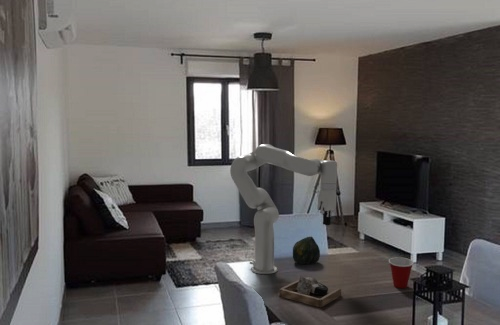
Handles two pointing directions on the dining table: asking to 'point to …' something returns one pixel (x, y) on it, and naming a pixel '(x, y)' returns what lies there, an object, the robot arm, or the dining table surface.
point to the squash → (306, 251)
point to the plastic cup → (400, 271)
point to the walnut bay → (321, 302)
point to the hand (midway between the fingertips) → (326, 224)
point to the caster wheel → (311, 286)
